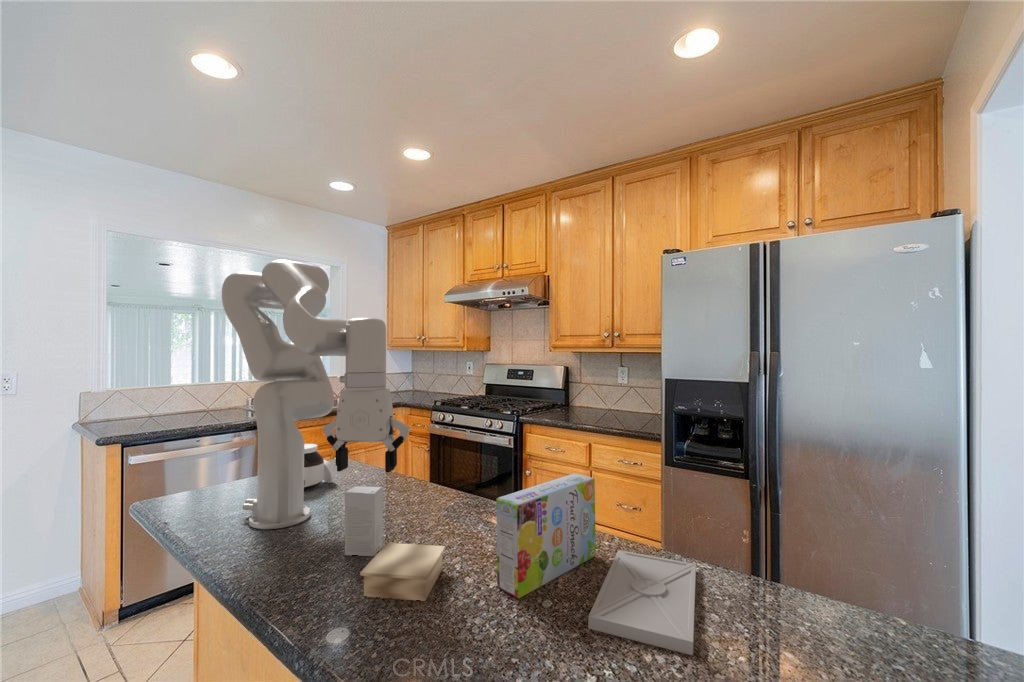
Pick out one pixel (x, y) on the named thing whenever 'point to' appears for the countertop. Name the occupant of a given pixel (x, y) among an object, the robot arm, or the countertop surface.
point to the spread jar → (316, 468)
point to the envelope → (647, 601)
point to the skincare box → (363, 521)
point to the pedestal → (403, 571)
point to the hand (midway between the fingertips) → (366, 470)
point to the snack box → (544, 532)
